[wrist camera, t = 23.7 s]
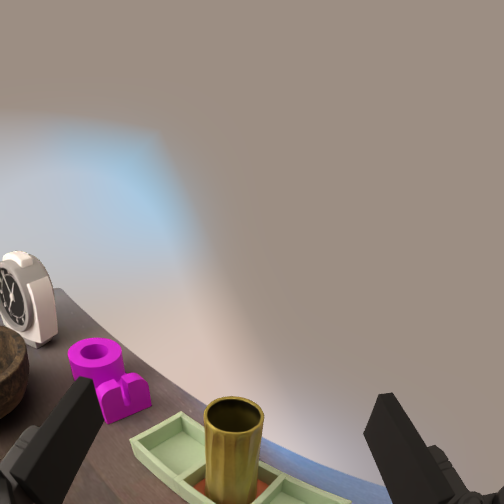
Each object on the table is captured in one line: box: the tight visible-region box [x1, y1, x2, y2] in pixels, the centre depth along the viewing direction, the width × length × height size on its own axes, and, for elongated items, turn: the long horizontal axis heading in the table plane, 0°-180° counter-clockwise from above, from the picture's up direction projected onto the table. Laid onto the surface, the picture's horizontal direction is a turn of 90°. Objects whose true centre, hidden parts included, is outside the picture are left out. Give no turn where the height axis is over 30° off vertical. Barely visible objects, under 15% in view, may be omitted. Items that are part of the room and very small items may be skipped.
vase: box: [204, 396, 264, 504], centre depth 24 cm, size 6×6×14 cm
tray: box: [130, 412, 352, 504], centre depth 26 cm, size 26×9×4 cm, turn 53°
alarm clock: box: [0, 251, 58, 349], centre depth 50 cm, size 18×8×20 cm, turn 80°
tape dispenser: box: [68, 338, 152, 424], centre depth 42 cm, size 16×10×6 cm, turn 50°
